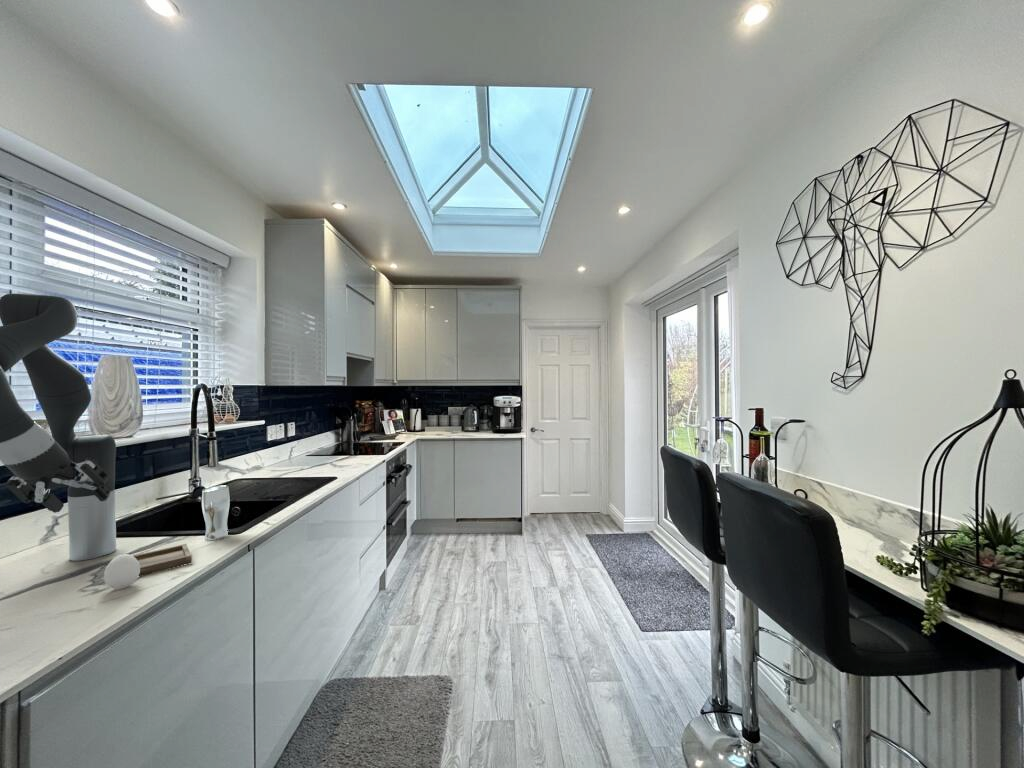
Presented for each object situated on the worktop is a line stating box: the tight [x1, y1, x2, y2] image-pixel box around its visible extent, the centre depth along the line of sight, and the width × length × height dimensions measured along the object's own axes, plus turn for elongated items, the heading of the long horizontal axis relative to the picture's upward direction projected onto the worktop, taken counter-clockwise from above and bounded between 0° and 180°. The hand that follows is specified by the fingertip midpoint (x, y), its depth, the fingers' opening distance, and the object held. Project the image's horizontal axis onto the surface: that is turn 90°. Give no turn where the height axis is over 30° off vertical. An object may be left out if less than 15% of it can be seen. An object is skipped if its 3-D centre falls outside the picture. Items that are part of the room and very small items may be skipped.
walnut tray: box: [133, 543, 192, 577], centre depth 107 cm, size 12×12×2 cm
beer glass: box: [201, 485, 231, 541], centre depth 126 cm, size 7×7×15 cm
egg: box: [103, 553, 140, 590], centre depth 95 cm, size 6×6×8 cm
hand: (83, 503), depth 89 cm, fingers open, 8 cm apart
